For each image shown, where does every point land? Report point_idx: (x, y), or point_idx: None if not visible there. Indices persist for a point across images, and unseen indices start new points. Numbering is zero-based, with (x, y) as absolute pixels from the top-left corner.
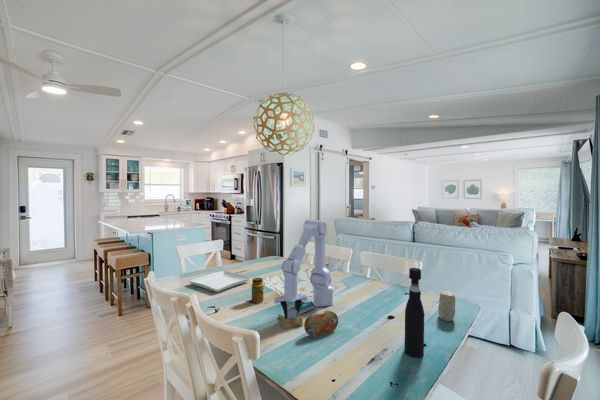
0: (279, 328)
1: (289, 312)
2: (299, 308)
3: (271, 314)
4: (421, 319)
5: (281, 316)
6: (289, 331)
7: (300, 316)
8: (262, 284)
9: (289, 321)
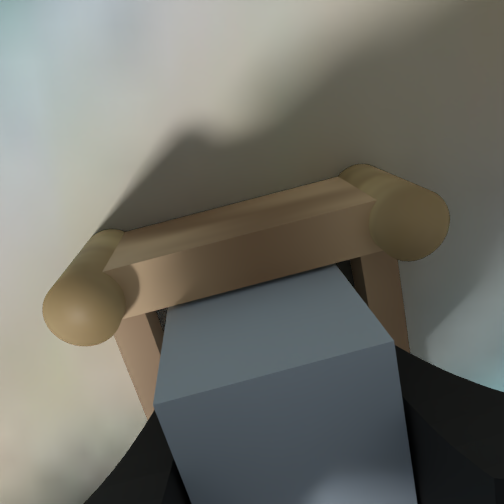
0: (431, 150)
1: (343, 335)
2: (91, 502)
3: None
4: None
5: None
6: (283, 51)
7: (95, 341)
8: None
9: (303, 213)
